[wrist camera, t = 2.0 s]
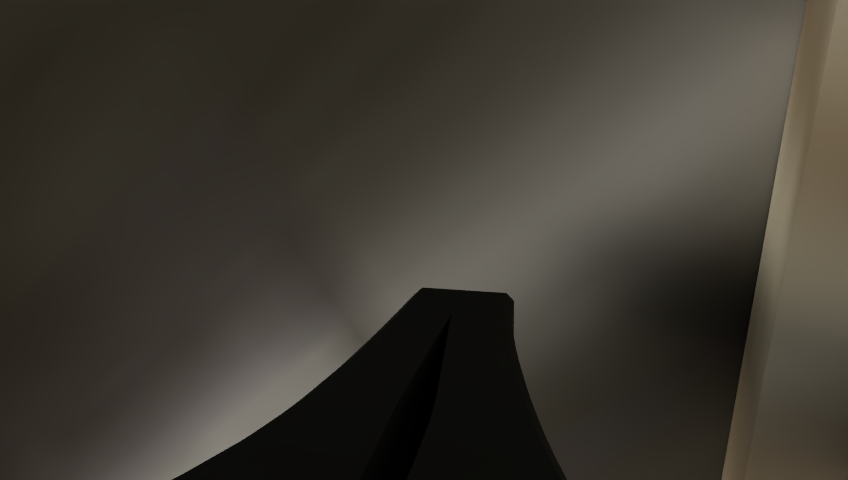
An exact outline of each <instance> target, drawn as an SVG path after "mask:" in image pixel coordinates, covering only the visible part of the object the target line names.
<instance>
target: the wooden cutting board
mask: <svg viewBox="0 0 848 480" xmlns="http://www.w3.org/2000/svg"><path fill="white" fill-rule="evenodd" d="M847 478H848V0H807V2H806V7H805V13H804V19H803V24H802V30H801V36H800V41H799V47H798V52H797V58H796V64H795V69H794V75H793V80H792V86H791V92H790V97H789V103H788V109H787V114H786V120H785V125H784V131H783V137H782V142H781V148H780V154H779V159H778V165H777V170H776V176H775V182H774V187H773V193H772V198H771V204H770V210H769V215H768V221H767V227H766V232H765V238H764V243H763V249H762V255H761V260H760V266H759V272H758V277H757V283H756V288H755V294H754V300H753V305H752V311H751V316H750V322H749V328H748V333H747V339H746V345H745V350H744V356H743V361H742V367H741V373H740V378H739V384H738V389H737V395H736V401H735V406H734V412H733V418H732V423H731V429H730V434H729V440H728V446H727V451H726V457H725V463H724V468H723V474H722V479H721V480H847Z"/></svg>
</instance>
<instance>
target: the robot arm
mask: <svg viewBox="0 0 848 480" xmlns="http://www.w3.org/2000/svg"><path fill="white" fill-rule="evenodd" d="M172 480H567V479H566V477H565V475H564V473H563V471H562V469H561V467H560V465H559V464H558V462H557V460H556V458H555V456H554V454H553V452H552V449H551V447H550V445H549V443H548V441H547V439H546V436H545V434H544V432H543V429H542V427H541V425H540V422H539V419H538V417H537V414H536V412H535V409H534V407H533V404H532V401H531V399H530V396H529V393H528V390H527V387H526V384H525V380H524V377H523V373H522V370H521V366H520V363H519V360H518V355H517V351H516V347H515V341H514V301H513V300H512V299H511V298H510V297H509V295H508V294H507V293H496V292H481V291H465V290H450V289H435V288H422V289H420V290H419V291H418V292H417V293H416V294H415V295H414V296H413V297H412V298H411V299H410V300H409V301H408V302H407V303H406V304H405V305H404V306H403V307H402V308H401V309H400V310H399V311H398V312H397V313H396V314H395V315H394V316H393V317H392V318H391V319H390V320H389V321H388V322H387V323H386V324H385V325H384V326H383V327H382V328H381V329H380V330H379V331H378V332H377V333H376V334H375V335H374V336H373V337H372V338H371V339H370V340H369V341H367V342H366V343H365V344H364V345H363V346H362V347H361V348H360V349H359V350H358V351H357V352H356V353H355V354H354V355H353V356H351V357H350V358H349V359H348V360H347V361H346V362H345V363H344V364H343V365H342V366H341V367H339V368H338V369H337V370H336V371H335V372H334V373H332V374H331V375H330V376H329V377H328V378H326V379H325V380H324V381H323V382H322V383H320V384H319V385H318V386H317V387H316V388H314V389H313V390H312V391H311V392H309V393H308V394H307V395H306V396H305V397H303V398H302V399H301V400H300V401H298V402H297V403H296V404H294V405H293V406H292V407H290V408H289V409H288V410H286V411H285V412H284V413H282V414H281V415H279V416H278V417H277V418H275V419H274V420H272V421H271V422H269V423H268V424H266V425H265V426H263V427H262V428H260V429H259V430H257V431H256V432H254V433H253V434H251V435H250V436H248V437H246V438H245V439H243V440H242V441H240V442H238V443H237V444H235V445H233V446H231V447H230V448H228V449H226V450H224V451H223V452H221V453H219V454H217V455H216V456H214V457H212V458H210V459H209V460H207V461H205V462H203V463H202V464H200V465H198V466H196V467H195V468H193V469H191V470H189V471H188V472H186V473H184V474H182V475H180V476H178V477H176V478H174V479H172Z"/></svg>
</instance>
